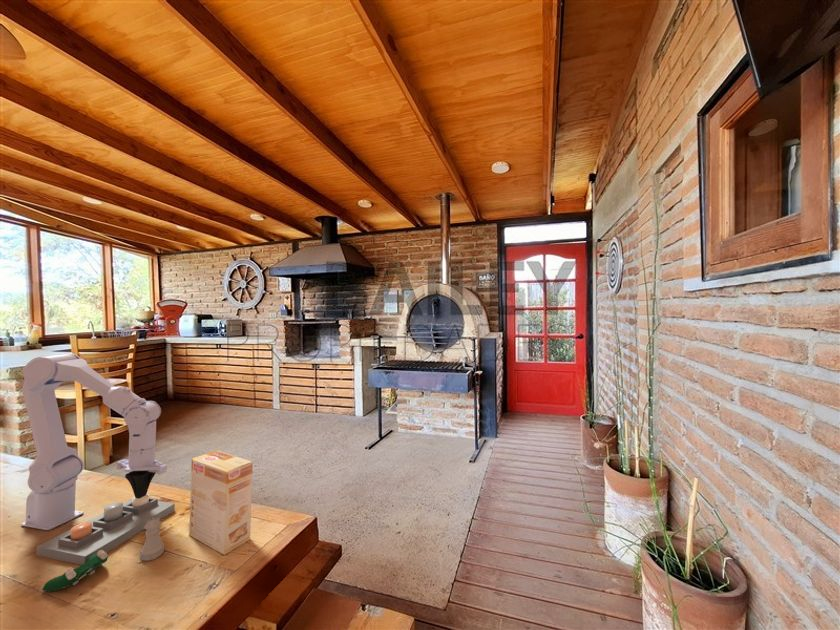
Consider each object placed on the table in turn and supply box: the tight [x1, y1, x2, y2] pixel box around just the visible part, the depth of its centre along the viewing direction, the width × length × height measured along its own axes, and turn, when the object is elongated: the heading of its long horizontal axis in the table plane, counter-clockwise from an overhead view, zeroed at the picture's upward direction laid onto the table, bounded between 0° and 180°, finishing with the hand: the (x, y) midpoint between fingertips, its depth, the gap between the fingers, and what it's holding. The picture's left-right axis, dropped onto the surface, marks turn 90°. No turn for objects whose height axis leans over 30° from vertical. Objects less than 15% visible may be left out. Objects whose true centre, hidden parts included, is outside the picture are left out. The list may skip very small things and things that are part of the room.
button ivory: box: [131, 492, 150, 508], centre depth 94 cm, size 4×4×3 cm
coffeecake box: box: [188, 450, 254, 556], centre depth 86 cm, size 15×7×20 cm, turn 62°
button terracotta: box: [70, 521, 92, 541], centre depth 80 cm, size 4×4×3 cm
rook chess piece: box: [139, 517, 165, 562], centre depth 79 cm, size 4×4×8 cm
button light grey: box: [103, 502, 124, 522], centre depth 87 cm, size 4×4×3 cm
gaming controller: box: [41, 550, 109, 592], centre depth 72 cm, size 9×4×6 cm
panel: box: [35, 496, 176, 566], centre depth 87 cm, size 14×22×4 cm, turn 169°
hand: (140, 496), depth 94 cm, fingers closed, pressing on button ivory
